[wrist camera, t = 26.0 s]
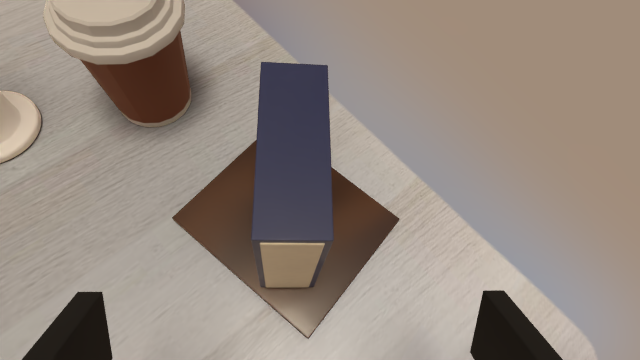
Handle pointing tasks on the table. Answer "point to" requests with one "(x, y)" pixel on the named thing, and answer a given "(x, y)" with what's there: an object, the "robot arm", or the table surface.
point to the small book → (292, 176)
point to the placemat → (237, 252)
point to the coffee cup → (128, 52)
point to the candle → (17, 124)
